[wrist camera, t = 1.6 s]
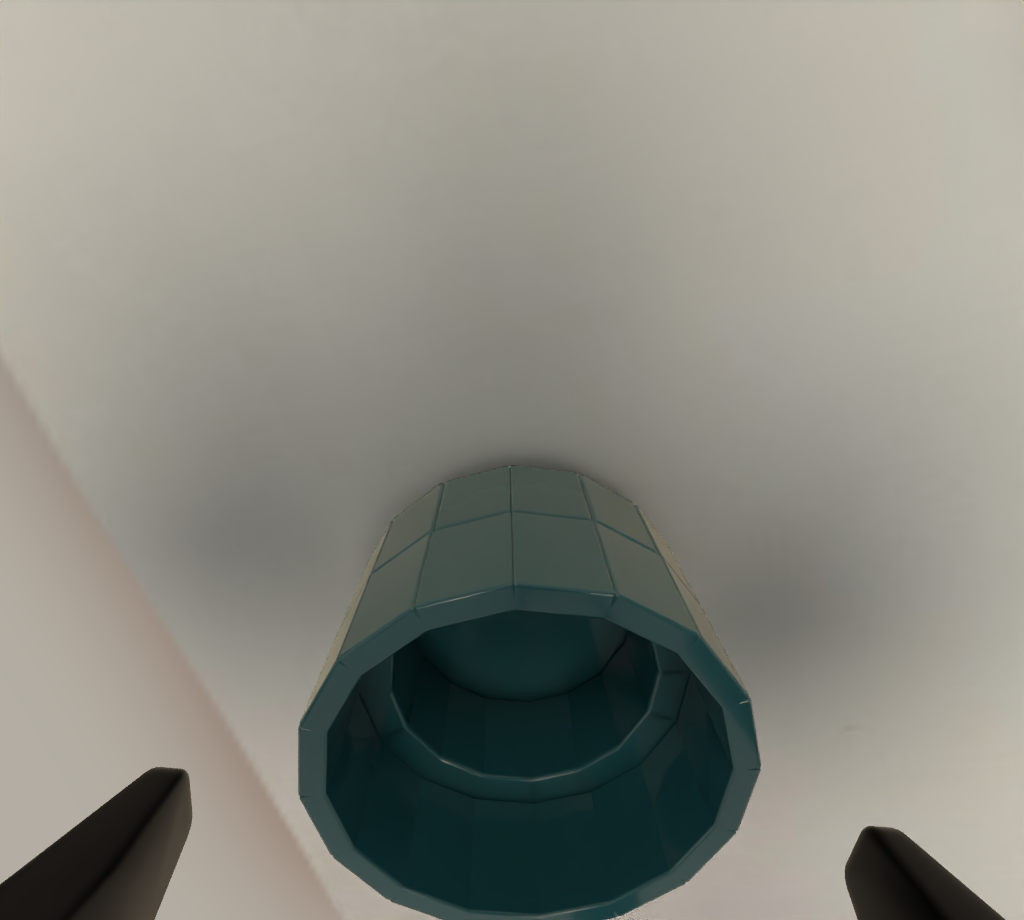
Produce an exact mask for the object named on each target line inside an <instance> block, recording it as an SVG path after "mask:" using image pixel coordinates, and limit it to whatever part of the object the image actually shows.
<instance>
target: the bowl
mask: <svg viewBox="0 0 1024 920" xmlns="http://www.w3.org/2000/svg"><path fill="white" fill-rule="evenodd" d="M760 767H761V760H760V754H759V748H758V741H757V735H756V728H755V722H754V716H753V709H752V703H751V699H750V697H749V694H748V692H747V690H746V688H745V687H744V685H743V683H742V681H741V679H740V677H739V675H738V674H737V672H736V670H735V668H734V666H733V664H732V662H731V661H730V659H729V657H728V655H727V653H726V651H725V649H724V648H723V646H722V644H721V642H720V640H719V638H718V636H717V635H716V633H715V631H714V629H713V627H712V625H711V623H710V622H709V620H708V618H707V616H706V614H705V612H704V610H703V609H702V607H701V606H700V603H699V601H698V600H697V598H696V596H695V594H694V592H693V590H692V588H691V587H690V585H689V583H688V581H687V579H686V577H685V575H684V573H683V572H682V570H681V568H680V566H679V564H678V562H677V560H676V559H675V557H674V555H673V553H672V551H671V549H670V548H669V546H668V545H667V544H666V542H665V541H664V540H663V538H662V537H661V536H660V535H659V533H658V532H657V531H656V529H655V528H654V527H653V525H652V524H651V523H650V521H649V520H648V519H647V518H646V516H645V515H644V514H643V512H642V511H641V510H640V508H639V507H638V506H637V505H634V504H633V503H632V502H631V501H629V500H628V499H626V498H624V497H622V496H620V495H618V494H617V493H615V492H613V491H611V490H609V489H607V488H605V487H604V486H602V485H600V484H598V483H596V482H594V481H593V480H591V479H589V478H587V477H585V476H583V475H578V474H577V473H576V472H570V471H561V470H553V469H544V468H536V467H527V466H518V465H511V466H510V467H509V466H504V467H500V468H496V469H493V470H489V471H485V472H481V473H477V474H473V475H469V476H465V477H461V478H457V479H454V480H450V481H447V482H446V483H441V484H440V485H438V486H437V487H436V488H434V489H433V490H432V491H430V492H429V493H427V494H426V495H425V496H423V497H422V498H421V499H419V500H418V501H417V502H415V503H414V504H413V505H411V506H410V507H409V508H407V509H406V510H404V511H403V512H402V513H400V514H399V515H398V516H396V517H395V518H394V520H393V521H391V522H390V524H389V526H388V528H387V530H386V531H385V533H384V535H383V537H382V538H381V540H380V542H379V544H378V546H377V547H376V549H375V551H374V553H373V555H372V556H371V558H370V560H369V562H368V564H367V565H366V567H365V569H364V572H363V574H362V576H361V579H360V581H359V584H358V586H357V588H356V591H355V593H354V595H353V598H352V600H351V602H350V605H349V607H348V610H347V612H346V614H345V617H344V619H343V621H342V624H341V626H340V629H339V631H338V633H337V635H336V638H335V640H334V643H333V645H332V647H331V650H330V652H329V654H328V657H327V659H326V662H325V664H324V666H323V669H322V671H321V673H320V676H319V678H318V681H317V683H316V685H315V688H314V690H313V692H312V695H311V697H310V699H309V702H308V704H307V707H306V709H305V711H304V714H303V716H302V718H301V721H300V725H299V728H298V793H299V795H300V800H301V802H302V804H303V805H304V807H305V809H306V811H307V813H308V814H309V816H310V818H311V820H312V822H313V823H314V825H315V827H316V829H317V831H318V833H319V834H320V836H321V838H322V840H323V842H324V843H325V845H326V847H327V849H328V851H329V852H330V854H331V855H333V857H334V859H336V860H337V861H338V862H340V863H341V864H342V865H343V866H345V867H346V868H347V869H349V870H350V871H351V872H353V873H354V874H355V875H356V876H358V877H359V878H360V879H362V880H363V881H364V882H365V883H367V884H368V885H369V886H371V887H372V888H373V889H374V890H376V891H377V892H378V893H380V894H381V895H382V896H384V897H385V898H386V899H388V900H390V901H391V902H394V903H397V904H399V905H402V906H405V907H408V908H411V909H414V910H416V911H419V912H422V913H425V914H428V915H431V916H433V917H436V918H439V919H442V920H606V919H612V918H616V917H617V916H622V915H624V914H626V913H628V912H630V911H632V910H634V909H636V908H638V907H640V906H642V905H644V904H646V903H648V902H650V901H652V900H654V899H656V898H658V897H660V896H662V895H664V894H666V893H668V892H670V891H672V890H674V889H676V888H678V887H680V886H682V885H684V884H685V882H688V881H689V880H690V879H691V878H692V877H693V876H694V875H695V874H696V873H697V872H698V871H699V870H700V869H701V868H702V867H703V866H704V865H705V864H706V863H707V862H708V861H709V860H710V859H711V858H712V857H713V856H714V855H715V854H716V853H717V852H718V851H719V850H720V849H721V848H722V847H723V846H724V845H725V844H726V843H727V842H728V841H729V840H730V839H731V838H732V837H733V836H734V835H735V834H736V831H737V830H738V829H739V826H740V824H741V821H742V818H743V816H744V813H745V810H746V808H747V805H748V802H749V800H750V797H751V794H752V792H753V789H754V786H755V783H756V781H757V778H758V775H759V773H760Z"/></svg>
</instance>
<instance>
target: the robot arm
mask: <svg viewBox="0 0 1024 920" xmlns="http://www.w3.org/2000/svg"><path fill="white" fill-rule="evenodd" d="M191 822H192V805H191V793H190V783H189V776H188V773H187V772H186V771H185V770H183V769H175V768H164V767H156V768H153V769H151V770H149V771H147V772H145V773H144V774H143V775H141V776H140V777H139V778H138V779H136V780H135V781H134V782H132V783H131V784H130V785H128V787H126V788H125V789H123V790H122V791H121V792H120V793H118V794H117V795H116V796H114V797H113V798H112V799H111V800H109V801H108V802H106V803H105V804H104V805H103V806H101V807H100V808H99V809H98V810H96V811H95V812H93V813H92V814H91V815H90V816H89V817H87V818H86V819H84V820H83V821H82V822H81V823H79V824H78V825H77V826H75V827H74V828H73V829H71V830H70V831H69V832H68V833H67V834H65V835H64V836H62V837H61V838H60V839H59V840H57V841H56V842H55V843H53V844H52V845H51V846H50V847H48V848H47V849H46V850H45V851H43V852H42V853H40V854H39V855H38V856H36V857H35V858H34V859H33V860H31V861H30V862H29V863H27V864H26V865H25V866H24V867H22V868H21V869H20V870H18V871H17V872H16V873H15V874H13V875H12V876H11V877H9V878H8V879H7V880H5V881H4V882H3V883H1V884H0V920H154V919H155V917H156V914H157V911H158V909H159V907H160V904H161V902H162V899H163V896H164V894H165V891H166V889H167V887H168V884H169V881H170V879H171V877H172V874H173V872H174V869H175V866H176V864H177V862H178V859H179V856H180V853H181V852H182V849H183V847H184V844H185V841H186V839H187V836H188V834H189V830H190V827H191ZM845 880H846V885H847V889H848V892H849V895H850V898H851V901H852V904H853V907H854V910H855V913H856V916H857V919H858V920H1005V919H1004V918H1003V917H1002V916H1000V915H999V914H998V913H997V912H996V911H995V910H993V909H992V908H991V907H990V906H989V905H988V904H986V903H985V902H984V901H983V900H982V899H980V898H979V897H978V896H977V895H976V894H975V893H973V892H972V891H971V890H970V889H969V888H968V887H966V886H965V885H964V884H963V883H962V882H961V881H959V880H958V879H957V878H956V877H955V876H953V875H952V874H951V873H950V872H949V871H948V870H946V869H945V868H944V867H943V866H942V865H941V864H939V863H938V862H937V861H936V860H935V859H934V858H932V857H931V856H930V855H929V854H928V853H926V852H925V851H924V850H923V849H922V848H921V847H919V846H918V845H917V844H916V843H915V842H914V841H912V840H911V839H910V838H909V837H908V836H906V835H905V834H904V833H903V832H901V831H899V830H897V829H894V828H888V827H876V826H868V827H866V828H864V829H863V830H862V832H861V834H860V836H859V838H858V840H857V842H856V844H855V846H854V848H853V850H852V853H851V855H850V857H849V859H848V861H847V863H846V866H845Z"/></svg>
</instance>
